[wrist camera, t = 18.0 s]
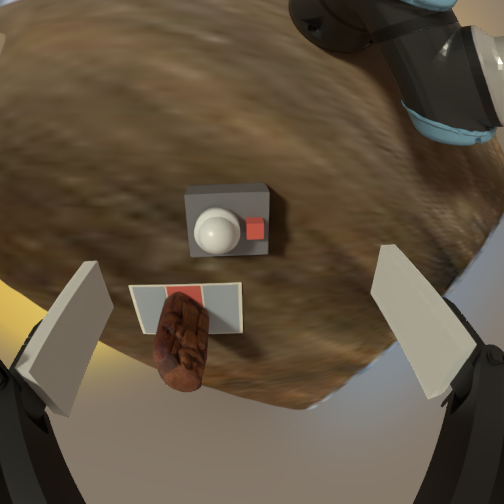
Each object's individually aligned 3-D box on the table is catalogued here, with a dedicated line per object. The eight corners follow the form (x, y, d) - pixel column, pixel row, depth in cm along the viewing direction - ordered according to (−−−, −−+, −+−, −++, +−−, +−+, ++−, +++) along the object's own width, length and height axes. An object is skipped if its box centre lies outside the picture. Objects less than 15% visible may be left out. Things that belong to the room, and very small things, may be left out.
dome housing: (265, 183, 43) (272, 196, 37) (264, 240, 48) (269, 262, 42) (189, 185, 42) (181, 200, 36) (193, 242, 47) (188, 265, 41)
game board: (241, 282, 52) (241, 283, 52) (242, 332, 58) (242, 333, 58) (128, 285, 50) (128, 286, 50) (143, 333, 56) (143, 334, 56)
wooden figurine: (220, 320, 56) (220, 394, 40) (198, 334, 57) (193, 406, 41) (177, 284, 51) (161, 358, 35) (156, 301, 52) (136, 373, 36)
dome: (239, 205, 39) (240, 219, 35) (240, 245, 42) (241, 263, 38) (194, 207, 39) (189, 221, 34) (197, 247, 42) (194, 265, 37)
